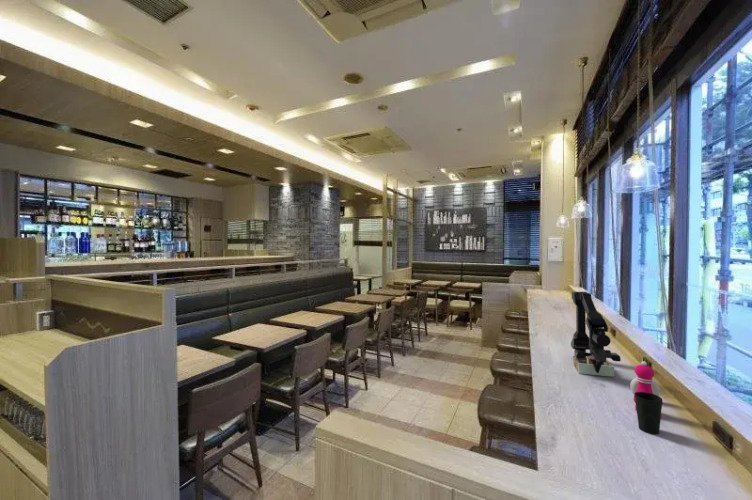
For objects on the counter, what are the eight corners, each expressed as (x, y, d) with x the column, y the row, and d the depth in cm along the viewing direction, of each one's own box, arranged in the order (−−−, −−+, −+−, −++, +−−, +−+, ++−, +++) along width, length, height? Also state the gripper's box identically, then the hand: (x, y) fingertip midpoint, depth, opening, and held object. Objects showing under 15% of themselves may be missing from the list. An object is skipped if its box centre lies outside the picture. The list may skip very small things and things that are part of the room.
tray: (574, 365, 179) (573, 356, 179) (607, 368, 174) (606, 359, 174) (578, 373, 168) (578, 363, 168) (614, 376, 163) (614, 366, 163)
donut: (659, 400, 137) (659, 377, 137) (661, 404, 134) (661, 380, 134) (629, 396, 142) (629, 373, 142) (631, 399, 139) (630, 375, 139)
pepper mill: (651, 418, 124) (650, 365, 124) (629, 410, 130) (628, 360, 130) (661, 413, 127) (659, 362, 127) (639, 405, 133) (638, 357, 133)
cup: (665, 438, 111) (664, 403, 111) (636, 432, 115) (636, 398, 115) (660, 427, 117) (659, 394, 117) (633, 422, 121) (633, 390, 121)
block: (588, 368, 172) (588, 359, 172) (586, 366, 175) (586, 357, 175) (597, 369, 170) (597, 360, 170) (595, 367, 174) (595, 357, 174)
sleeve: (573, 365, 180) (573, 356, 180) (606, 368, 175) (606, 358, 175) (578, 373, 169) (578, 363, 169) (613, 376, 164) (613, 366, 164)
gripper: (578, 343, 160) (579, 375, 160) (624, 347, 153) (625, 380, 153) (573, 338, 170) (574, 368, 170) (616, 341, 164) (617, 372, 163)
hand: (597, 372), depth 164 cm, fingers closed, pressing on tray
